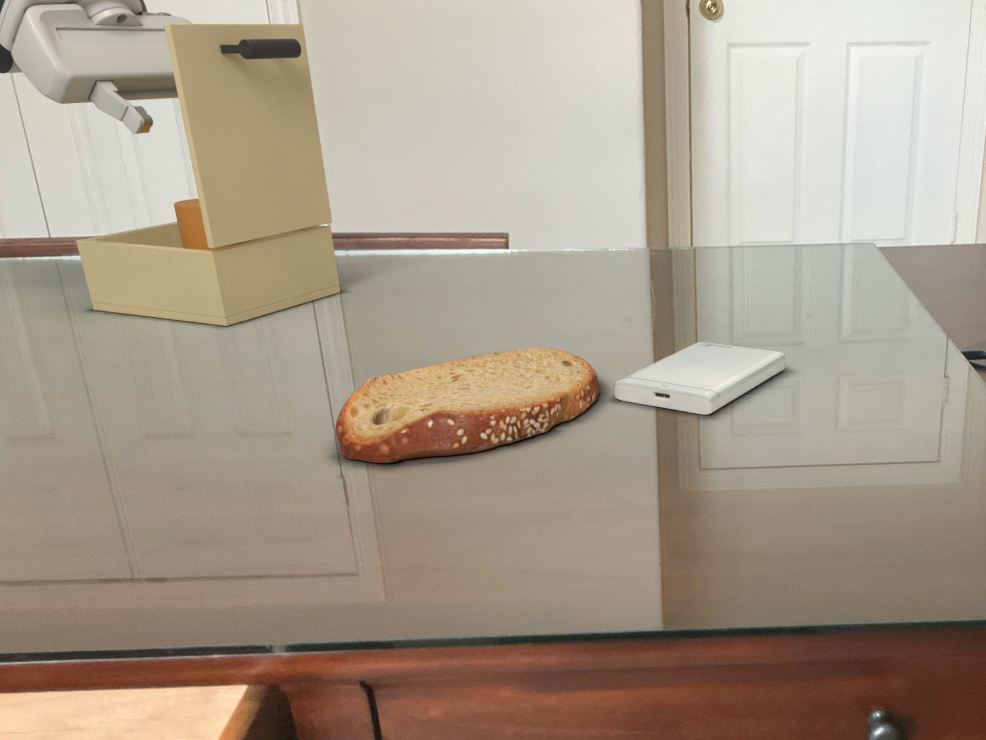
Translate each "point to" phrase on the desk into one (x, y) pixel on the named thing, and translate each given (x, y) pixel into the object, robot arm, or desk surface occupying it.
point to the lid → (250, 128)
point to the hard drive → (700, 377)
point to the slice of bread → (464, 405)
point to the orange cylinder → (193, 225)
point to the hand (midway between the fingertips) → (186, 125)
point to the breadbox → (207, 274)
